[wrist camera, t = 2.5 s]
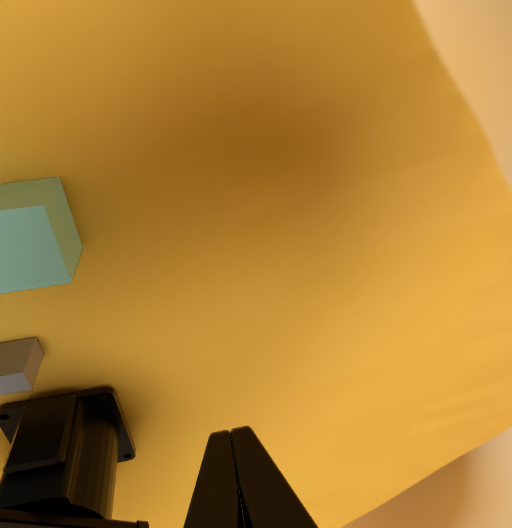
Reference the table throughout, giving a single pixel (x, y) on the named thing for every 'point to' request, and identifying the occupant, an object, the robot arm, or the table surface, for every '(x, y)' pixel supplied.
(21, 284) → the t block
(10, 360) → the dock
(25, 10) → the table surface
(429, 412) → the table surface
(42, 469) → the robot arm
